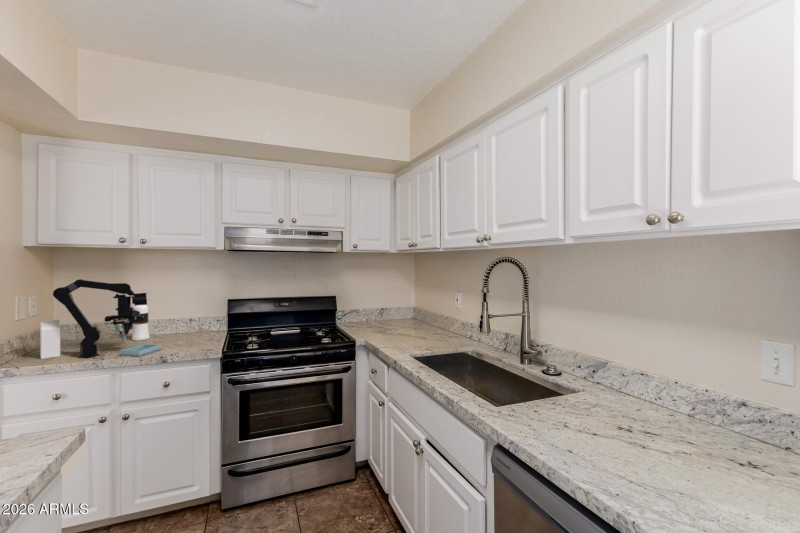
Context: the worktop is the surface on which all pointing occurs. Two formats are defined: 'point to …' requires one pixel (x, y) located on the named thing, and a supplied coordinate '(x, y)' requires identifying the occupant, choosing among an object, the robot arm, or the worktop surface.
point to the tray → (140, 350)
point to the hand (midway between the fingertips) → (124, 334)
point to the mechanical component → (121, 328)
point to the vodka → (141, 324)
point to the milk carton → (50, 339)
